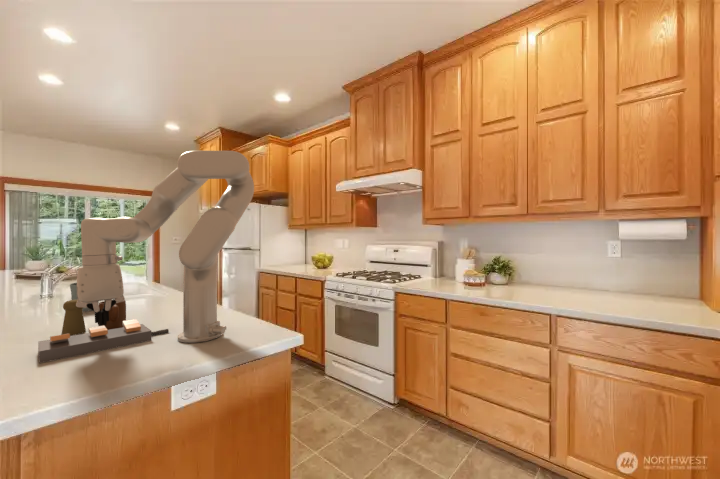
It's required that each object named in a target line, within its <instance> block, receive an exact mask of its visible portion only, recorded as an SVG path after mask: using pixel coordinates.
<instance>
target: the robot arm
mask: <svg viewBox="0 0 720 479" xmlns="http://www.w3.org/2000/svg"><path fill="white" fill-rule="evenodd" d="M176 163H177V165H176V166H177V167H176V168H175V169H174V170H172V171H171V172H170V173H169V174H168V175H167V176H166V177H164V178H163V179H162V180H160V182H159V183H157V184H156V185H155V186H154V188H153V190H152V194H151V197H150V199H149V201H148V202H147V204H145V206H144V207H143V208H142V209H141V210H139V212H137V214H135V215H134V216H133V217H130V216H121V217H115V218H114V217H113V218H105V217H90V218H89V217H88V218H84V219H82V221H80V222H81V223H80V233H81V235H80V236H81V237H80V238H81V260H82V261H81V262H82V264H81V266H79V267H78V270H77V275H76V283H77V299H78V300H77V304H76V306H77V307H84V308H89V309H91V310H92V311H93V312H94V323H95V324H97V325H99V326H102V325H107V321H109V310H110V308H111V307H112V306H113V305H115V304H116V303H119V302H122V301H124V300H125V301H126V299H125V296H124V293H125V291H124V281H123V274H122V270H121V266H120V264H118V262H119V261H123V255H117V245H116V244H117V243H121V244H122V243H123V244H125V243H126V244H130V243H131V244H134V243H141V242H144V241H146V240H147V239H149V238H150V237H151V236H153V234H154V233H156V232H157V231H158V230H159V229H160V228H162V226H163V225H164V224H165V223H166V222H168V220H169V219H170V217H172V215H173V214H175V212H177V210H178V209H179V208H180V207H181V206H182V205H183V204H184V203H185V202H186V201H187V200H189V198H190V197H191V196H193V194H195V193H196V192H197V191H198V190H199V189H200V188H201V187H202V186H203V185H205V183H207V181H208V180H209V179H210V180H219V179H220V180H221V179H222V180H223V179H225V181H226V183H227V187H226V189H225V191H224V192H223V193H222V195H221V196H220V198H219V200H218V201H217V203H216V204H215V205H214V207H211V208H208V209H207V210H206V211H205V212H204V213H203V214H202V215H201V216H200V218H199V219H198V221H197V222H196V224H194V226H193V227H192V229H191V231H190V233H188V235H187V237H186V238H185V239H184V241H183V242H182V244H181V246H180V248H179V250H178V258H179V261H180V262H181V264H182V265H183V293H182V294H183V301H182V303H183V305H182V307H183V310H182V311H183V312H182V314H183V318H182V319H183V321H182V322H183V324H182V325H183V326H182V327H183V329H182V331H183V332H180V333H179V334H178V335H177V341H178V342H180V343H186V344H188V343H189V344H194V343H203V342H208V341H211V340H215V339H217V338H219V337H221V336H222V335H223V334H225V332H226V330H227V326H226V325H221V322H220V321H219V320H218V298H217V297H218V254H219V253H220V251H221V250H222V249H223V247H224V245H225V244H226V243H227V241H228V239H229V238H230V237H231V235H232V234H233V233H234V231H235V229H236V226H237V224H238V222H239V221H240V219H241V218H242V217H243V215H244V213H245V212H246V210H247V209H248V207H249V205H250V204H251V202H252V200H253V198H254V193H255V184H254V179H253V177H252V175H251V173H250V162H249V159H248V158H247V157H246V156H245V155H244V154H243V153H241V152H239V151H235V150H189V151H185V152H183V153H182V154H181V155H179V157H178V158H177V162H176ZM98 301H99V302H104V307H103V308H102V311H101V309H100V308H99V304H98ZM87 302H91V303H87Z"/></svg>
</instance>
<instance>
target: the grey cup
mask: <svg viewBox="0 0 720 479" xmlns="http://www.w3.org/2000/svg"><path fill="white" fill-rule="evenodd" d="M69 289H70V295H71V296H70V300H78V299H77V282H72V283H70V284H69ZM87 303H91V302H87ZM99 303H100V301H98V304H99ZM84 311H86V312H92V311H93V310H91V309H89V308H84V307H83V309H82V312H83V313H85V312H84Z"/></svg>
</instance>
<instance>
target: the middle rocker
mask: <svg viewBox="0 0 720 479" xmlns="http://www.w3.org/2000/svg"><path fill="white" fill-rule="evenodd" d="M88 333H89V334H90V336H91V337H94V336H100V335H106V334H108V330H107V328H106V327H105V326H92V327H88Z"/></svg>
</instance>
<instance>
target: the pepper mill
mask: <svg viewBox="0 0 720 479" xmlns="http://www.w3.org/2000/svg"><path fill="white" fill-rule="evenodd" d="M76 304H77V300H72V299H70V300H67V301H65V302H63V305H62V308H63V310H64V311H65V313H64V316H63V317H64V318H63V323H62V329H61V334H60V335H63V334H70V336H74V335H80V334H86V332H87V329H86V323H85V319H84V318H85V317H84V314H83V313H84V312H82V309H83V307H77V306H76Z"/></svg>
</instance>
